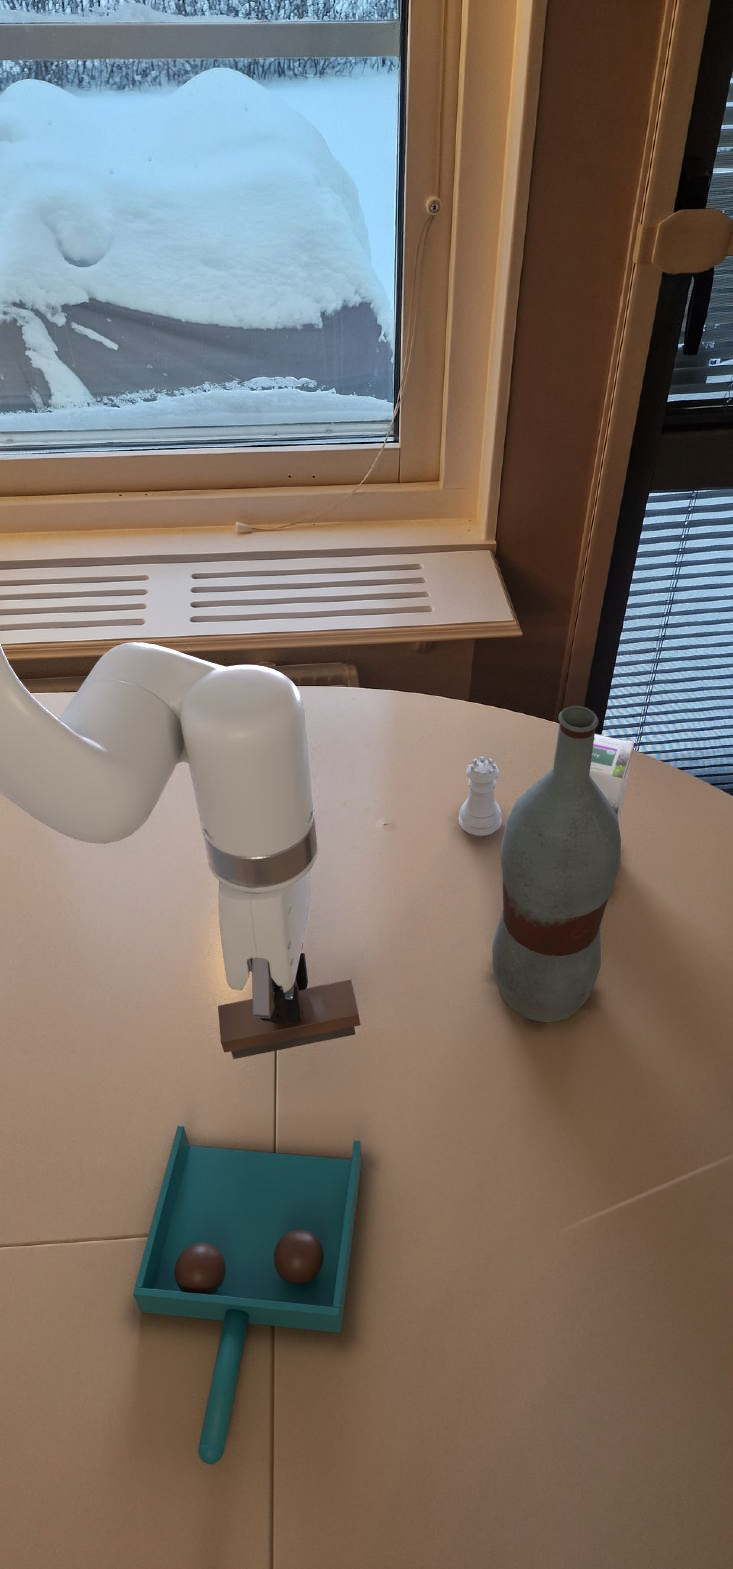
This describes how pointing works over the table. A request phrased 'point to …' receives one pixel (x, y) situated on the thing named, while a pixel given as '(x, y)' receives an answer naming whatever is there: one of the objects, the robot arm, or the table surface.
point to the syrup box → (611, 768)
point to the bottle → (556, 881)
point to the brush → (322, 1019)
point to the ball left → (200, 1269)
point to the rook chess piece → (481, 799)
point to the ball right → (298, 1257)
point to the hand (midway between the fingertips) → (284, 1001)
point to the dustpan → (248, 1250)
